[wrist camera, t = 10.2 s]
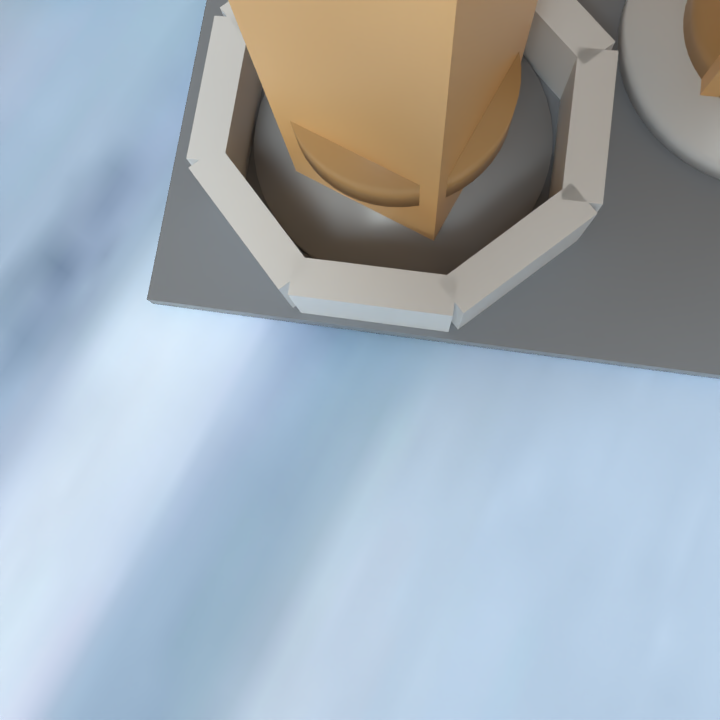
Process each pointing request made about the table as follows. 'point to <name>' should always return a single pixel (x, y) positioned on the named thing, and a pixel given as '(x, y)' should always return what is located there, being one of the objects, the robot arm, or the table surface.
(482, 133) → the tan pillar on disc
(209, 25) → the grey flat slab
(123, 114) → the table surface
